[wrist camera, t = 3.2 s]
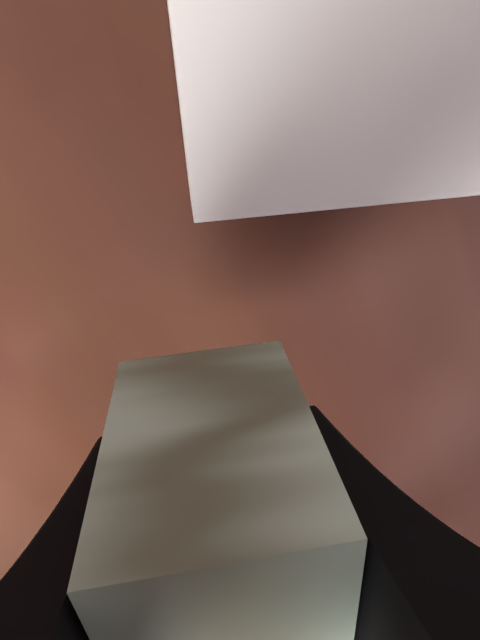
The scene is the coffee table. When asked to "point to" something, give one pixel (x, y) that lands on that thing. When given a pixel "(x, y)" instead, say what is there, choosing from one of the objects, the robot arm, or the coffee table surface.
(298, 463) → the sage block
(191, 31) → the plinth
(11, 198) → the coffee table surface
